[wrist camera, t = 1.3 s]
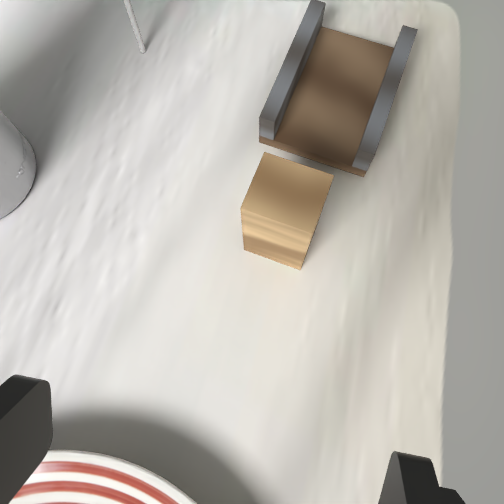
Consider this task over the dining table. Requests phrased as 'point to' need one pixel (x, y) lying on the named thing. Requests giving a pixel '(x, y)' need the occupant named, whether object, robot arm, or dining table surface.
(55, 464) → the dinner plate
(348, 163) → the walnut track
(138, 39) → the lollipop
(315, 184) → the oak block
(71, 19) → the dining table surface
